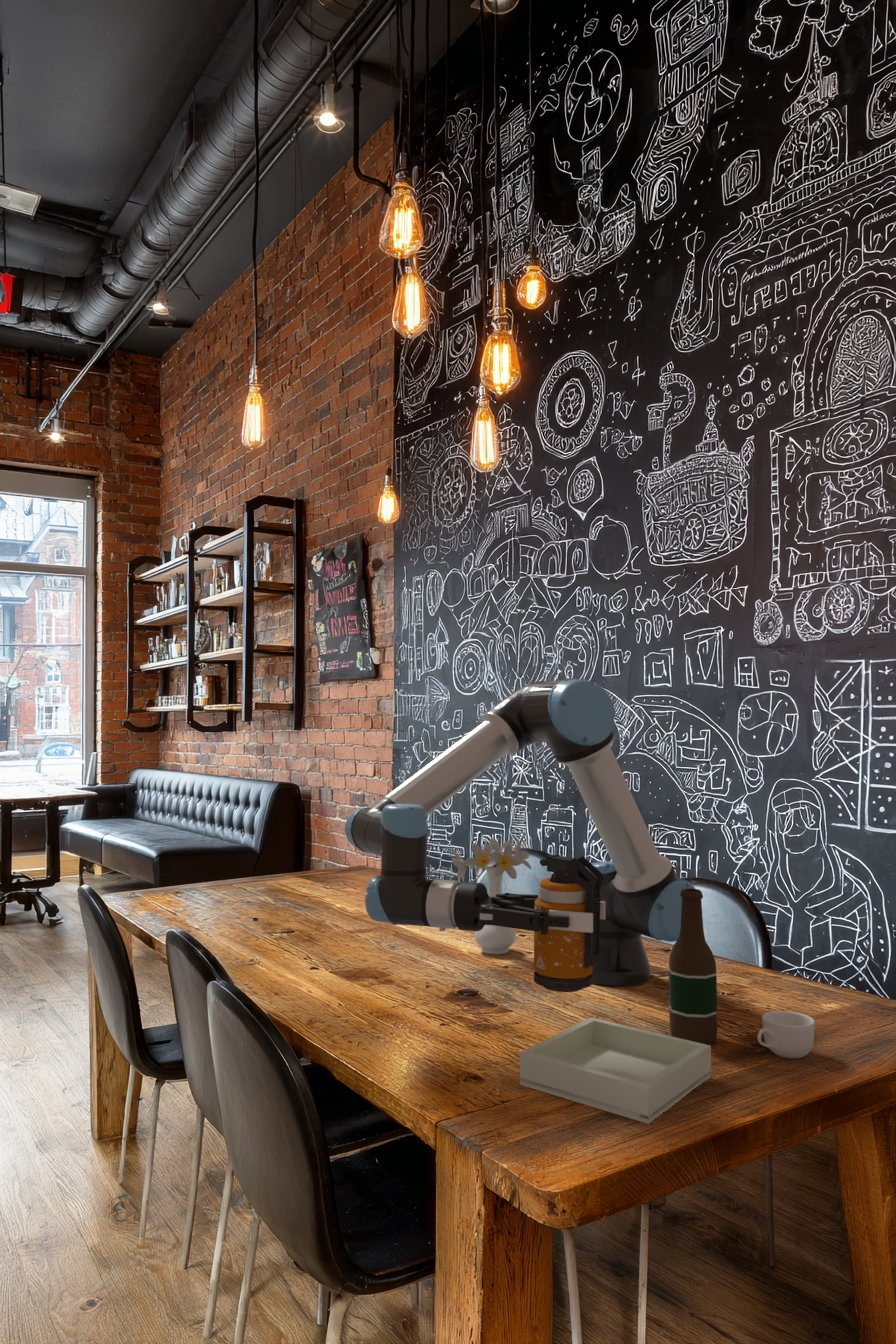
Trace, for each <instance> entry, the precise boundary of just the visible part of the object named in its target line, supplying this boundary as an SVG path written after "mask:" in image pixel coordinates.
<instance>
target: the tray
mask: <svg viewBox="0 0 896 1344" xmlns="http://www.w3.org/2000/svg"><path fill="white" fill-rule="evenodd" d="M710 1077H711V1078H712V1046H711V1044H708V1045H706V1044H702V1043H698V1042H693V1041H689V1040H685V1039H681V1038H676V1037H672V1035H667V1034H663V1033H660V1032H659V1033H658V1032H654V1031H651V1030H647V1029H646V1030H645V1029H642V1028H637V1027H634V1026H628V1025H625V1024H620V1023H615V1022H612V1021H609V1020H603V1019H599V1018H594V1017H589V1018H587V1019H585V1020H583V1021H581V1022H579V1023H577V1024H574V1025H573V1026H571V1027H569V1028H566V1029H565V1030H562V1031H560V1032H559V1033H557V1034H554V1035H552V1036H551V1037H549V1038H547V1039H544V1040H542V1041H540V1042H537V1043H536V1044H534V1045H532V1046H530V1047H528V1048H526V1049H524V1050H521V1051H520V1052H519V1085H520V1086H523V1087H526V1088H529V1089H533V1090H537V1091H539V1092H542V1093H545V1094H546V1093H547V1094H550V1095H553V1096H555V1097H559V1098H561V1099H566V1100H569V1101H572V1102H576V1103H579V1104H582V1105H585V1106H589V1107H592V1108H596V1109H598V1110H602V1111H605V1112H608V1113H610V1114H611V1113H612V1114H615V1115H618V1116H620V1117H625V1118H627V1119H631V1120H634V1121H637V1122H639V1123H640V1122H641V1123H644V1124H647V1125H648V1124H650V1123H651V1122H653V1121H654V1120H656V1119H657V1118H659V1117H660V1116H661V1115H663V1114H664V1113H665V1112H667V1111H668V1110H669V1109H671V1108H672V1107H673V1106H675V1105H676V1104H677V1103H678V1102H679V1101H681V1100H683V1099H684V1098H685V1097H687V1096H688V1095H689V1094H691V1093H692V1092H693V1091H694V1090H693V1089H695V1088H696V1087H697V1088H699V1087H700V1086H701V1085H702V1084H701V1083H703V1082H704V1081H705V1082H707V1081H708V1080H710V1079H711V1078H710ZM707 1079H708V1080H707ZM706 1080H707V1081H706ZM705 1082H704V1083H705ZM704 1083H703V1084H704ZM700 1084H701V1085H700ZM699 1085H700V1086H699ZM698 1086H699V1087H698ZM697 1088H696V1089H697ZM696 1089H695V1090H696ZM692 1090H693V1091H692ZM691 1091H692V1092H691ZM690 1092H691V1093H690ZM688 1093H689V1094H688ZM687 1094H688V1095H687ZM686 1095H687V1096H686ZM684 1096H685V1097H684ZM683 1097H684V1098H683ZM682 1098H683V1099H682ZM675 1103H676V1104H675ZM663 1112H664V1113H663ZM655 1118H656V1119H655Z"/></svg>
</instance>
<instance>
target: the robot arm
mask: <svg viewBox="0 0 896 1344" xmlns="http://www.w3.org/2000/svg"><path fill="white" fill-rule="evenodd" d="M615 709H616V708H615V705H614V702H613V700H612V698H611V696H610V694H609V693H608V692H607V691H606V689H604V688H603V687H602V686H601V685H599V684H598V683H596V682H595V681H591V680H588V679H581V678H574V677H573V678H566V679H560V680H541V681H539V680H538V681H534V682H531V683H527V684H526V685H524V686H522V687H520V688H519V689H517V690H515V691H514V692H512V693H511V694H510V695H508V696H507V697H505V698H504V699H503V700H502V701H500V702H499V703H497V704H496V705H495V706H494V707H492V708H491V709H489V710H488V711H487V712H485V713H484V714H483V716H482V721H481V723H479V725H477V726H476V727H474V728H473V729H471V731H470V732H468V733H467V734H465V735H464V736H463V737H461V738H460V739H459V740H458V741H456V742H455V743H454V744H452V745H451V746H450V747H448V748H447V749H446V750H445V751H443V752H442V753H441V754H439V755H438V756H436V757H435V758H433V760H431V761H430V762H429V763H427V764H426V765H425V766H423V767H422V768H421V769H420V770H418V771H417V772H415V773H414V774H412V775H411V776H410V777H409V778H408V779H406V780H405V781H404V782H402V783H401V784H400V785H398V786H397V787H396V788H395V789H393V790H392V791H390V792H389V793H388V794H387V795H386V796H384V797H382V798H381V799H379V800H377V802H375V803H374V804H373V805H372V806H370V807H368V806H367V807H361V808H358V809H356V810H354V811H352V812H351V813H350V815H349V816H348V817H347V819H346V821H345V826H344V831H345V832H344V833H345V836H346V840H347V841H348V842H349V844H350V845H352V846H353V847H354V848H356V849H358V850H359V851H361V852H363V853H366V854H367V853H368V854H373V855H376V856H378V857H380V860H381V862H380V863H381V864H380V866H381V868H380V870H381V871H380V875H375V876H373V877H372V878H371V879H370V880H369V882H368V884H367V887H366V894H365V899H364V903H365V910H366V913H367V915H368V917H369V918H370V919H371V920H372V921H374V922H380V923H385V924H386V923H387V924H392V925H394V926H398V925H399V926H400V925H401V926H402V925H404V926H418V927H429V928H438V929H439V931H440V932H445V931H446V929H452V930H454V929H459V930H460V931H469V932H471V931H472V932H476V931H480V930H482V929H483V927H484V925H495V926H502V927H508V928H513V929H514V930H515V929H516V930H523V931H529V932H530V931H531V932H533V933H534V932H539V931H540V929H541V934H548V926H549V929H553V930H565V931H577V932H588V933H592V932H593V913H584V912H572V911H559V910H549V915H547V912H546V911H541V910H536V909H534V906H535V900H536V899H537V898H538V894H525V893H524V894H523V893H521V894H520V893H510V892H506V893H502V894H496V897H489V892H488V889H487V887H486V885H485V883H482V882H472V881H464V882H463V881H462V882H460V880H453V879H452V880H449V879H429V878H427V873H428V871H427V870H428V869H427V863H428V862H427V860H428V859H427V858H428V857H427V855H428V853H427V852H428V831H429V825H428V821H427V820H428V819H427V817H428V816H429V815H430V814H432V813H433V812H434V811H436V810H437V809H438V808H440V807H441V806H442V805H443V804H444V803H446V802H447V801H449V800H450V799H451V798H452V797H453V796H455V795H456V794H457V793H459V792H460V791H461V790H462V789H464V788H465V787H466V786H467V785H469V784H470V783H471V782H473V780H475V779H476V778H478V777H479V776H481V774H483V773H485V771H486V770H488V769H489V768H490V767H492V766H493V765H494V764H496V763H497V762H498V761H500V760H501V759H503V758H504V756H506V755H510V756H513V755H516V754H517V753H519V751H521V750H523V749H524V748H526V747H527V746H528V747H529V746H530V745H533V744H537V743H547V744H548V745H549V748H550V751H551V752H552V754H553V756H554V759H555V761H556V762H557V763H558V764H561V765H564V766H565V767H568V770H569V772H570V773H571V776H572V777H573V780H574V782H575V784H576V787H577V789H578V791H579V793H580V795H581V797H582V799H583V801H584V803H585V807H586V808H587V810H588V812H589V815H590V817H591V819H592V821H593V823H594V825H595V828H596V830H597V832H598V834H599V836H600V838H601V841H602V843H603V846H604V847H605V849H606V852H607V853H608V855H609V858H610V860H611V861H600V862H590V863H591V864H592V865H593V866H594V867H596V868H597V869H598V870H599V871H600V872H601V873H602V874H603V875H604V876H605V877H604V880H603V883H602V886H601V889H600V897H601V899H600V900H601V901H600V903H601V904H600V905H601V907H600V908H601V910H600V955H601V957H602V959H603V961H601V962H599V963H597V964H595V965H593V972H592V975H593V980H592V984H596V985H602V986H604V985H605V986H612V987H614V986H619V987H621V986H622V987H623V986H624V987H626V986H634V985H636V986H637V985H641V984H645V983H646V982H648V981H650V980H651V965H650V964H651V963H650V961H649V958H648V955H647V951H646V949H645V946H644V942H643V939H642V935H643V936H646V937H648V938H651V939H654V940H656V941H663V942H667V943H669V942H670V943H671V942H672V943H676V941H677V940H678V938H679V934H680V927H681V907H682V897H681V896H680V893H681V890H683V889H696V887H695V886H694V885H693V884H692V883H690V881H688V880H686V879H680V878H679V876H678V874H677V872H676V870H675V868H674V866H673V863H672V861H671V860H670V858H668V857H666V856H663V855H662V854H659V851H658V850H657V847H656V845H655V842H654V841H653V838H652V837H651V833H650V832H649V829H648V827H647V825H646V823H645V821H644V819H643V816H642V814H641V812H640V809H639V808H638V805H637V802H636V801H635V799H634V796H633V793H632V792H631V789H630V787H629V785H628V783H627V781H626V779H625V776H624V774H623V772H622V769H621V767H620V766H619V763H618V761H617V759H616V756H615V755H614V753H613V750H612V745H613V743H614V740H615V734H614V733H613V730H614V727H615V721H614V720H615V718H616V710H615ZM589 871H590V870H589ZM590 872H591V871H590ZM591 873H592V872H591ZM592 874H593V873H592ZM593 875H594V874H593ZM594 876H595V875H594Z"/></svg>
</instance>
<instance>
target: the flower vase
mask: <svg viewBox="0 0 896 1344" xmlns="http://www.w3.org/2000/svg"><path fill="white" fill-rule="evenodd" d="M487 843H488V841H487V840H486V841H485V842H484V845H483V848H481V847H480V846H479V844H476V843H474V844H472V845H471V852H472V853H473V856H474V857H469V858H467V859H466V860H464V859H463V858H462V857H461V856H460V855H459V854H458V853H457V851H455V850H454V849H452V852H453V853H452V854H453V855H454V856H455V857H452V858H451V862H452V864H453V865H454V866H455V867H457V868H458V869H457V873H456V875H457V876H456V877H457V881H460V880H461V879H462V882H465V875H466V870H467V867H469V870H472V869H473V868H475V869H474V873H475V876H476V877H479V876H481V874H482V873H483V871H484V869H485V871H486V874H487V881H488V895H489V897H496V894H503V891H502V890H503V888H502V887H503V877H504V876H503V875H504V872H506V874H507V875H508V877H509V878H510V879H513V880H515V879H517V875H518V874H517V870H516V869H515V867H516V866H520V865H524V866H525V867H527V868H528V869H530V870H533V868H532V866H531V865H530V863H529V862H528V861H527V859H529V858H530V854H529V853H528V851H526V850H522V844H521V841H520V839H519V838H517V839H516V843H514V849H513V846H512V844H513V843H512V841H511V840H506V841H504V842H503V843H502V844H501V846H500V843H499V841H497V839H496V838H493V837H492V838H490V839H489V844H487ZM516 940H517V934H516V932H515V928H508V927H502V926H495V925H484V927H483V929H482V930H480V931H474V941H475V942H476V944H477V945H478V946H480V947H481V951H482V953H484V954H486V955H493V956H494V955H496V956H497V955H498V956H499V955H504V954H507V953H509V952H510V947H512V945H514V943H515V942H516Z"/></svg>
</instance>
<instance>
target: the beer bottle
mask: <svg viewBox="0 0 896 1344" xmlns="http://www.w3.org/2000/svg"><path fill="white" fill-rule="evenodd" d="M680 896H681V897H682V907H681V927H680V934H679V938H678V940H677V941H675V942H674V944H673V946H672V947H671V948H672V949H671V950H670V954H669V957H668V959H669V960H668V995H669V996H668V1001H669V1002H668V1006H669V1008H668V1009H669V1010H668V1011H669V1013H668V1014H669V1017H668V1018H669V1019H668V1020H669V1033H670V1036H672V1037H676V1038H681V1039H685V1040H689V1041H693V1042H698V1043H702V1044H708V1045H710V1044H713V1043H715V1041H717V1037H718V997H717V996H718V994H717V993H718V990H717V989H718V985H717V982H718V981H717V980H718V979H717V964H716V959H715V956H714V953H713V952H712V949H711V948H710V946H709V945H708V942H707V941H706V938H705V937H706V936H705V932H704V919H703V905H702V904H703V903H702V899H703V898H704V895H703V892H702V891H701V889H697V888H695V889H683V890H681V893H680ZM712 1042H713V1043H712ZM709 1043H710V1044H709Z"/></svg>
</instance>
